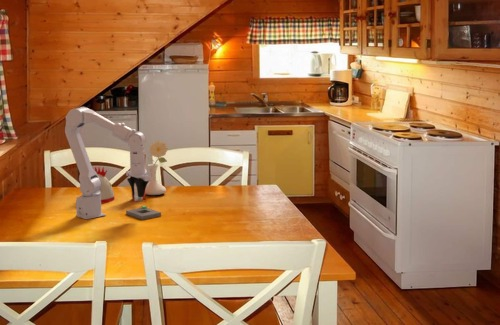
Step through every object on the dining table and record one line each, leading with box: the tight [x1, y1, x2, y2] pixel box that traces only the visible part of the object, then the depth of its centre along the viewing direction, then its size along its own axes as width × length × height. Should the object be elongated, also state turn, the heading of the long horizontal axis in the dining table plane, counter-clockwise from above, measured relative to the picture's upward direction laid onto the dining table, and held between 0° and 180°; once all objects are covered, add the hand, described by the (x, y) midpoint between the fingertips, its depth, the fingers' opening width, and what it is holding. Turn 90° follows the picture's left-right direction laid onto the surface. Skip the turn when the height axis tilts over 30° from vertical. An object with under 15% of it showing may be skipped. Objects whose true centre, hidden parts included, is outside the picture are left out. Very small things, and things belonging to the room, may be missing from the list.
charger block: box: [125, 205, 162, 221], centre depth 283 cm, size 9×12×2 cm
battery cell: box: [133, 183, 144, 202], centre depth 277 cm, size 3×3×8 cm
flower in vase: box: [145, 140, 168, 196], centre depth 318 cm, size 13×11×25 cm
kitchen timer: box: [94, 166, 115, 204], centre depth 308 cm, size 14×14×15 cm
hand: (138, 196), depth 277 cm, fingers closed on battery cell, 3 cm apart
